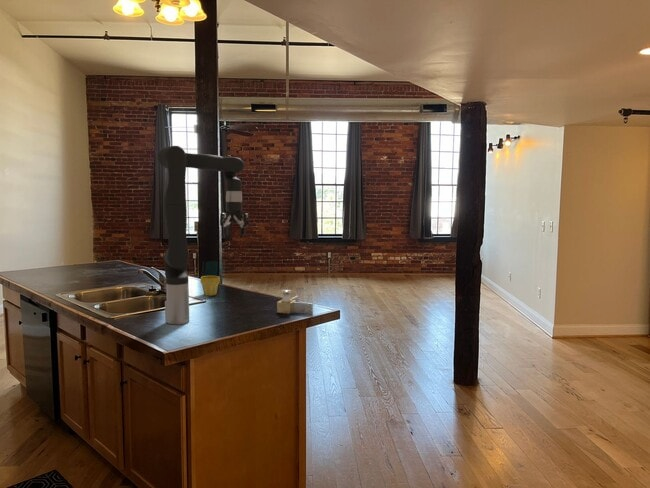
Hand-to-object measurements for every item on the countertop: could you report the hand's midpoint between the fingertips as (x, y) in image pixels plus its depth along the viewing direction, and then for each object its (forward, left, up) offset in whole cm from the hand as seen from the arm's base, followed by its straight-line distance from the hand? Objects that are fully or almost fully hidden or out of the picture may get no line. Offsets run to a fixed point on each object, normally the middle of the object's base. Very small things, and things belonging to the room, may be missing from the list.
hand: (234, 235), depth 230 cm
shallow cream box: (+29, +11, -36) cm, 48 cm away
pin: (+24, +6, -36) cm, 44 cm away
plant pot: (-32, +27, -36) cm, 55 cm away
